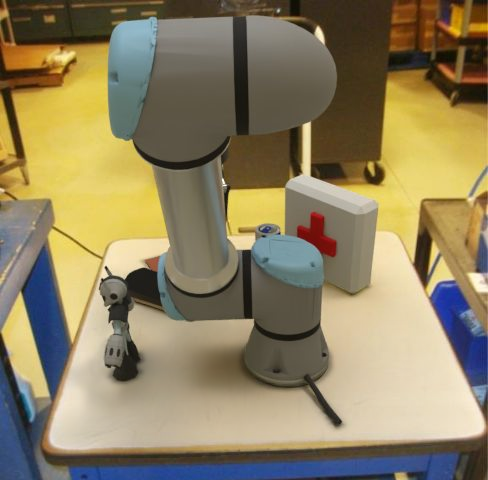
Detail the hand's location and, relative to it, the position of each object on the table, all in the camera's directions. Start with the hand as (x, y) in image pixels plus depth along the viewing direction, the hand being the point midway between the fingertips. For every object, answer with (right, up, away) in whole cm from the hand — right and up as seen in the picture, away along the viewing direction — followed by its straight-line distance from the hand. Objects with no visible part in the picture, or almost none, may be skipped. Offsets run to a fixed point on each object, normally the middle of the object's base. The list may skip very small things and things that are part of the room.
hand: (215, 249), depth 130 cm
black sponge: (-12, -11, 0) cm, 16 cm away
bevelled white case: (+24, -5, +6) cm, 25 cm away
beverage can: (+11, -9, +1) cm, 14 cm away
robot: (-15, -24, -18) cm, 34 cm away
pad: (-7, 0, +14) cm, 15 cm away
